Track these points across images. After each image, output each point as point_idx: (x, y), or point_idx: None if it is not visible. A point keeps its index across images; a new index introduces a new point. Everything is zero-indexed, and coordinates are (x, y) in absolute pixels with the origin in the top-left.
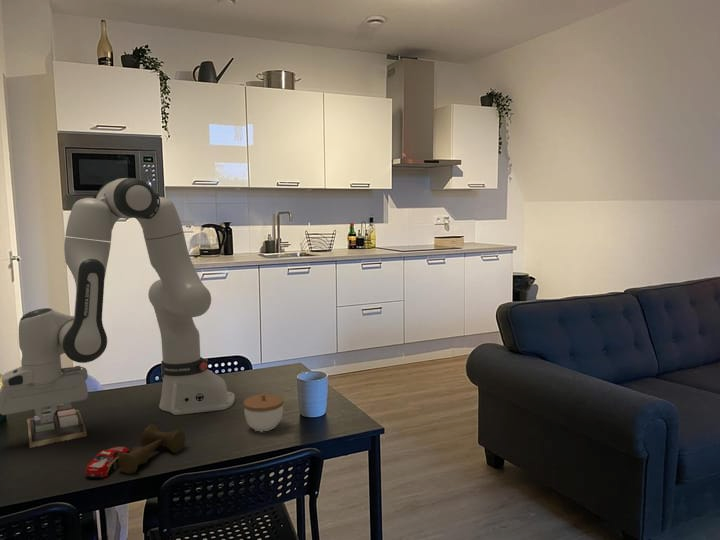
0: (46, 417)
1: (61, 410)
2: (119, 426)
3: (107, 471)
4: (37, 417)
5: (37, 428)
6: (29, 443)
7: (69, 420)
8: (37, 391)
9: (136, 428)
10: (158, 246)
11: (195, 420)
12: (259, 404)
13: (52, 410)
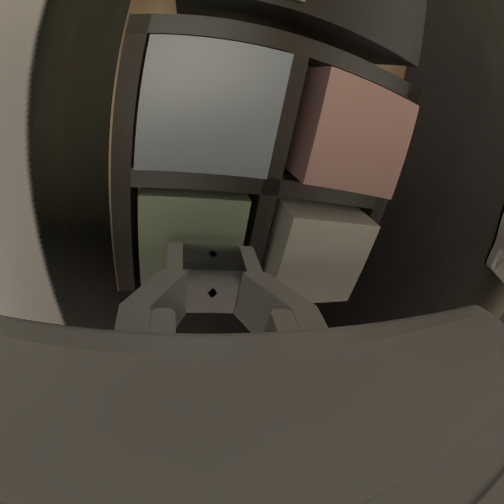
0: (208, 310)
1: (361, 38)
2: (419, 255)
3: None
4: (164, 89)
5: (148, 236)
6: (117, 285)
7: (318, 292)
8: None
9: (421, 292)
10: None
11: (469, 303)
12: None
13: (266, 322)
